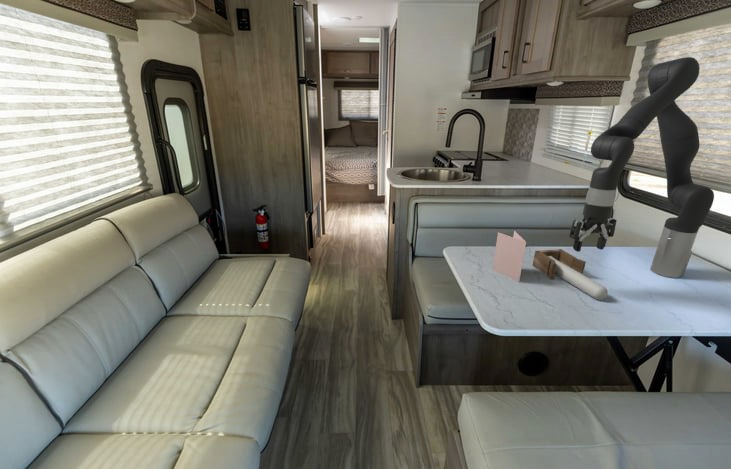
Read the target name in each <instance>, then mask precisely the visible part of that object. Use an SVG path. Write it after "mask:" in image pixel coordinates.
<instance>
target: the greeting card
mask: <svg viewBox="0 0 731 469" xmlns="http://www.w3.org/2000/svg"><path fill="white" fill-rule="evenodd" d="M527 246H528V244H527V242H526V240H525V239H524V238H523V237H522V236H521V235H519V233H517V231H515V230H514V231H513V235H512V236H510V235H507V234H505V233H501V232H497V236H496V243H495V250H494V255H493V256H494V258H493V262H492V263H493V264H492V271H494V272H496V273H499V274H501V275H503V276H505V277H507V278H509V279H511V280H514V281H516V282H519V283H520V279H521V273H522V269H523V263H524V256H525V251H526V248H527Z"/></svg>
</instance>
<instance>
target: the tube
mask: <svg viewBox="0 0 731 469" xmlns="http://www.w3.org/2000/svg"><path fill="white" fill-rule="evenodd" d="M548 257H550V258H551V259H553V260H555V262H556V264H557V266H556V270H555V275H556V276H557V277H559V278H561V279H562V280H564V281H565V282H567V283H569V284H570V285H572V286H573V287H575V288H577V289H579V290H580V291H581V292H583V293H585V294H587V295H588V296H590V297H592V298H593V299H595V300H597V301H602V300H604V299H605V298H607V297H608V294H609V292H608V291H609V290H608V289H607V288H606V287H605V286H604V285H601V284H600V283H598V282H597V281H595V280H593V279H591V278H590V277H588V276H586V275H584V273H583V274H581V273H579V272H577V271H576V270H574V269H572V268H570V267H568V266H567V265H565V264H563V263H561V262H560V261H558V260H556V259H554V258H553V257H552V256H548Z"/></svg>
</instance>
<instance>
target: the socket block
mask: <svg viewBox="0 0 731 469" xmlns="http://www.w3.org/2000/svg"><path fill="white" fill-rule="evenodd" d="M548 256H552V257H553V258H554V259H556V260H558V261H560V262H561V263H563V264H565V265H567V266H568V267H570V268H572V269H574V270H576V271H577V272H579V273H581V274H583V275H584V271H585V267H586V263H587V261H585V260H582V259H579V258H578V257H576V256H574V255H572V254H570V253H569V252H567V251H566V250H564V249H561V248H557V249H556V248H555V249H545V250H544V249H543V250H535V251H534V256H533V260H532V266H533V267H534V268H535V269H537V270H539V271H540V272H542V273H543V274H545V275H546V276H547V277H548V280H551V281H552V280H554V279H555V278H554V277H555V275H556V274H555V270H556V266H557V264H556V262H555V260H553V259H551V258H550V257H548Z"/></svg>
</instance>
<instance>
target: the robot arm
mask: <svg viewBox="0 0 731 469" xmlns="http://www.w3.org/2000/svg"><path fill="white" fill-rule="evenodd" d="M700 68H701V67H700V63H699V61H698V60H697V59H696V58H695V57H691V56H690V57H689V56H688V57H687V56H686V57H681V58H677V59H676V58H675V59H672V60H667V61H664V62H660V63H656V64H655V65H652V67H650V69H649V71H648V73H647V87H648V88H647V89H648V92H649V95H648V96H646V97H644V98H643V99H642V100H640V101H639V102H637V103H635V104H634V105H633V106H632V107H630V108H629V109H628V110H627V111H626V113H624V115H623V116H622V117H621V118H620V120H619V121H618V122H617V123H615V124H614V125H612V126H611V127H609V128H607V129H606V130H605V131H603V132H602V133H600V134H599V135H598V136H597V137H596V138H595V139H594V141H593V142H592V144H591V147H590V154H591V155H592V157H593V158H595V159H597V160H602V161H604V160H605V161H611V162H610V163H609V165H608V166H606V167H605V166H604V167H598V168H595V169H594V170H592V175H591V179H590V183H589V186H588V191H587V193H586V196H585V201H584V206H583V210H582V215H583V218H582V220H577V219H574V220H573V222H572V224H571V228H570V232H569V235H568V236H569V238H571V239H573V240H574V241H573V245H572V248H573V250H574V251H575V252H581V250H582V246H583V241H584V240H585V238H586V237H588V236H589V235H590V234H591V235H592V234H598V239H597V242H596V248H597V249H598V250H601V251H602V250H604V248H605V247H606V243H607V240H608V239H609V238H612V237H614V235H615V230H616V225H617V221H618V220H617V219H615V218H612V217H611V216H612V212H613V208H614V205H615V201H616V197H617V196H616V195H617V188H618V184H619V181H620V180H619V179H620V177H621V175H622V173H623V171H624V169H625V167H626V165H627V164H628V162H629V160H630V158H632V156H633V153H634V150H635V143H634V140H636V139H637V138H639V136H641V134H642V133H643V132H644V131H645V130H646V129H647V127H648V126H649V125H650V124H651V123H652V121H654V120H655V118H656V119H657V124H658V129H659V130H658V132H659V136H660V144H661V149H662V154H663V158H664V159H663V160H664V166H665V167H664V168H665V172H666V195H667V200H668V203H669V204H670V205H671V206H673V207H675V208H676V209H679V210H680V211H679V214H678V216H677V217H676V216H675V217H669V218H666V220H665V222H664V225H663V228H662V230H661V233H660V234H661V235H660V237H659V240H658V244H657V246H656V249H655V253H654V255H653V258H652V262H651V265H650V268H649V269H650V271H651V272H653V273H655V274H656V275H659V276H663V277H665V278H666V277H667V278H673V279H677V278H682V277H683V276H684V275H685V272H686V270H687V267H688V264H689V262H690V259H691V256H692V254H693V251H692V249H693V246H694V243H695V240H696V238H697V236H698V233H699V230H700V228H701V227H702V226H703V225H704V224H705V222H706V219H707V217H708V215H709V212H710V211H711V208H712V206H713V203H714V201H715V200H714V199H715V193H714V190H712V189H711V188H710V187H708V186H705V185H700V184H697V183H695V182H693V179H692V174H691V172H692V171H691V168H692V167H691V166H692V163H693V161H694V160H695V158H696V156H697V154H698V152H699V149H700V136H699V129H698V126H697V124H696V122H694V120H693V119H692V118H690V116H688V115H687V113H685V112H684V111H683V110H682V109H681V108H680V107H679V105H677V103H676V100H677V99H678V98H679V97H681V96H682V95H683V94H684V93H685V92H686V91H688V90H689V89H690V88H691V87H692V86H693V85H694V84H695V83H696V82H697V80H698V79H699V76H700Z"/></svg>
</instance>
